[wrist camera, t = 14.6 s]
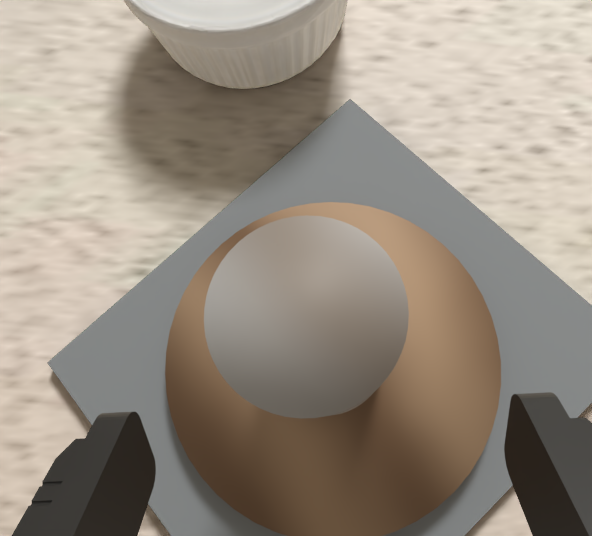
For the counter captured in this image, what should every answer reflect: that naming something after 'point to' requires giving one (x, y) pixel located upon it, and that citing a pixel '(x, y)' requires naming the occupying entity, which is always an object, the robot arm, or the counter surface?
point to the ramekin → (242, 36)
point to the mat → (363, 191)
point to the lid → (333, 371)
